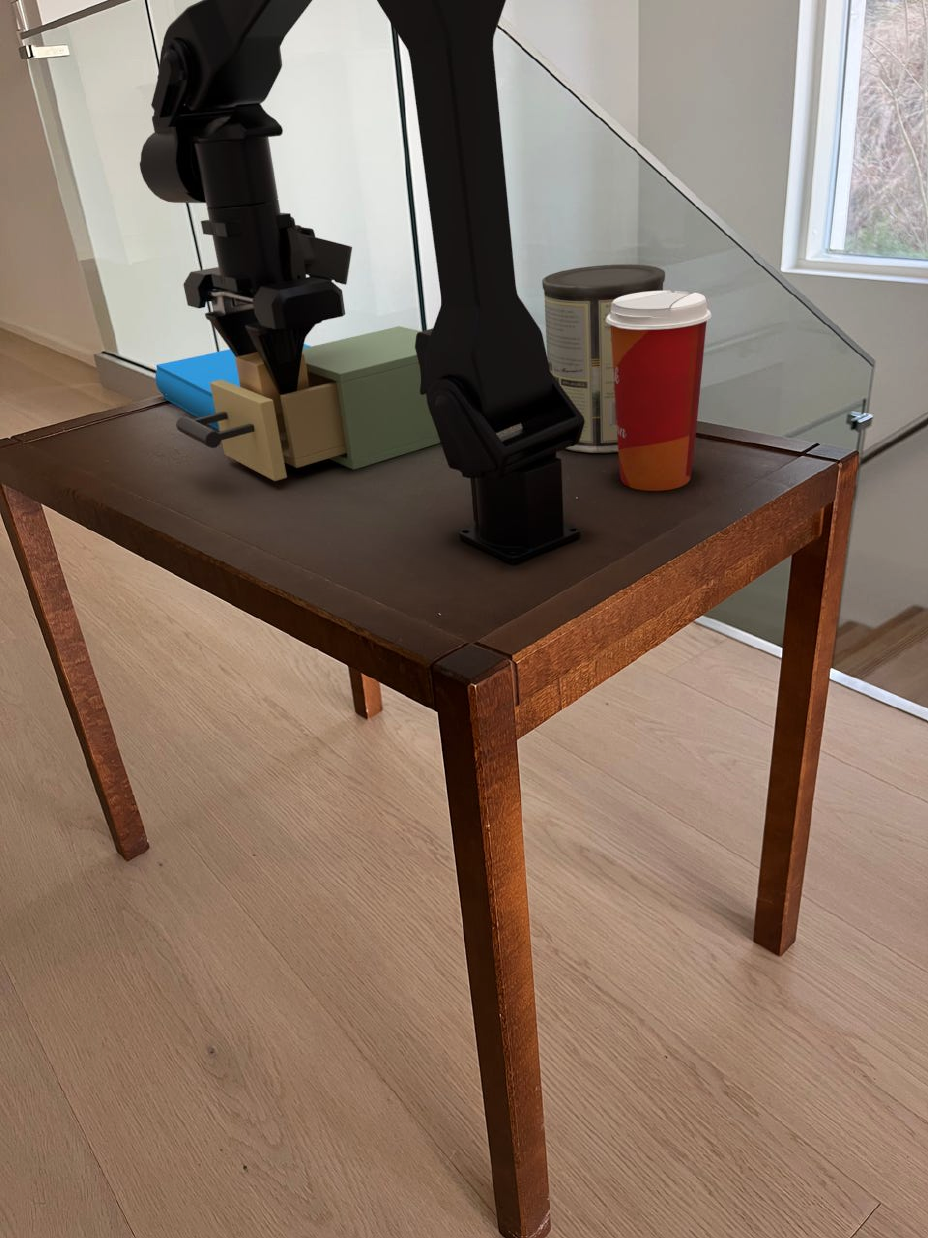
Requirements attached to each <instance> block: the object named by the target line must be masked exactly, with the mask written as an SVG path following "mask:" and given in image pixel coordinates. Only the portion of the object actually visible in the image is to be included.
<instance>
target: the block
mask: <svg viewBox="0 0 928 1238" xmlns="http://www.w3.org/2000/svg"><path fill="white" fill-rule="evenodd" d="M235 361H236V366H237V371H238V376H239V381H240V386H241V387H242V388H244V389H247V390H249V391H252V392H254V393H257V394H259V395H262V396H264V397H267V398H269V399H272V400H273V403H274V409H275V414H276V415H277V414H280V413H283V410H282V404H281V398H280V394H279V392H278V391H277V389H276V387H275V385H274V383H273V381H272V379H271V377H270V375H269V373H268V371H267V369H266V367H265V365H264V363H263V361H262V359H261V357H260V355H259V353H258V352H256V353H251V354H247V355H243V356H238V357H235ZM307 388H309V381H308V375H307V369H306V363H305V357H304V354H302V357H301V364H300V371H299V378H298V386H297V391H299V390H303V389H307Z"/></svg>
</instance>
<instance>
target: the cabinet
mask: <svg viewBox="0 0 928 1238" xmlns="http://www.w3.org/2000/svg"><path fill="white" fill-rule="evenodd" d="M422 331H423V330H418V329H413V328H408V327H404V326H400V325H398V326H395V327H394V326H393V327H390V328H385V329H381V330H377V331H372V332H369V333H365V334H360V335H355V336H350V337H346V338H342V339H339V340H332V341H329V342H325V343H320V344H316V345H311V346H312V347H307V348H303V351H302V354H304V357H305V363H306V369H307V372H310V373H313V374H316V375H319V376H322V377H325V378H328V379H331V380H334V381H337V388H338V395H339V402H340V408H341V415H342V422H343V429H344V436H345V443H346V449H347V453H345V454H342V455H338V456H335V457H332V458H328V459H329V460H331V461H333V462H336V463H337V464H340V465H342V466H344V467H346V468H348V469H351V470H352V471H355V470H357V469H361V468H364V467H368V466H370V465H374V464H377V463H380V462H383V461H387V460H390V459H393V458H397V457H400V456H402V455H405V454H409V453H412V452H415V451H418V450H422V449H425V448H428V447H431V446H434V445H438V444H441V442H440V439H439V436H438V433H437V430H436V427H435V424H434V421H433V419H432V416H431V414H430V411H429V407H428V404H427V396H426V394H424V395H421V394H420V385H421V373H420V366H419V362H418V358H417V354H416V350H415V342H416V335H417V333H418V332H422Z"/></svg>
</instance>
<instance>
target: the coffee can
mask: <svg viewBox="0 0 928 1238" xmlns="http://www.w3.org/2000/svg"><path fill="white" fill-rule="evenodd" d="M665 279H666V271H665V270H664V269H662V268H660V267H657V266H652V265H647V264H603V265H591V266H581V267H577V268H576V267H575V268H571V269H565V270H561V271H560V270H559V271H557V272H554V273H551V274H548V275H547V276H545V277H543V278H542V280H541V283H542V289H543V294H544V295H543V296H544V312H545V313H544V317H545V319H544V320H545V339H546V340H545V342H546V354H547V359H548V363H549V368H550V372H551V373H552V375H553V376H554V377H555V379H556V380H557V381H558V383H559V384H560V386H561V387H562V388H563V390H564V391H565V392H566V394H567V395H568V396H569V398H570V399H571V401H572V402H573V403H574V405H575V406H576V407H577V409H578V410H579V412H580V413H581V414H582V416H583V417H584V420H585V423H584V427H583V430H582V433H581V437H580V440H579V443H578V444H577V445H575V446H569V447H567V448H565V449H564V450H568V451H572V452H578V453H586V454H587V453H588V454H613V453H618V439H617V424H616V408H615V392H614V376H613V359H612V343H611V327H610V324H608V323H607V322H606V318H607V316H608V315H609V314H610V312H611V305H612V302H613V300H615V299H616V298H618V297H621V296H625V295H629V294H634V293H640V292H649V291H664V283H665Z"/></svg>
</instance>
